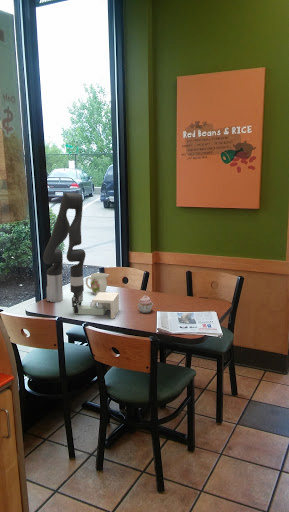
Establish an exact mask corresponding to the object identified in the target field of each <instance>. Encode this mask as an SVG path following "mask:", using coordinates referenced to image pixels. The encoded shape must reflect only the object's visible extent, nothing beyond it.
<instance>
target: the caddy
mask: <svg viewBox="0 0 289 512" xmlns="http://www.w3.org/2000/svg"><path fill="white" fill-rule="evenodd" d="M89 304H90V305H88V304H87V305H83V304H81V305H78V314H77V315H87V316H88V315H90V316H91V315H92V316H104V315H105V314H106V313H107V310H106V306H104V303H92V301H90V302H89ZM72 314H73V315H76V314H75V313H74V307H72Z"/></svg>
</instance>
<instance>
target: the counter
mask: <svg viewBox="0 0 289 512" xmlns="http://www.w3.org/2000/svg"><path fill="white" fill-rule="evenodd" d="M119 299H120V295H119V292H108V291H105V292H99V293H98V294H97V295H95V296H94V297H93V298H92V299H91V302H92V303H97V304H98V303H104V306H106V311H110V320H113V319H115V318H116V315H117V314H118V312H119V311H120V306H119V305H120V302H119V301H120V300H119Z"/></svg>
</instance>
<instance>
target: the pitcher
mask: <svg viewBox="0 0 289 512" xmlns="http://www.w3.org/2000/svg"><path fill="white" fill-rule="evenodd" d="M109 276H110V274H109V273H106V272H105V273H104V272H94V273H91V274H90V276H87V277H85V278H86V279H85V286H86V287H87V288H88V289H89V290H91V292H92V293H93V295H95V296H96V295H97V294H98V293H99V292H107V286H108V284H107V283H108V281H107V277H109ZM89 279H90V285H89V284H88V280H89Z"/></svg>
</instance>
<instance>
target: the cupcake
mask: <svg viewBox="0 0 289 512" xmlns="http://www.w3.org/2000/svg"><path fill="white" fill-rule="evenodd" d="M153 305H154V303H153V302H152V300H151V298H150V297H149V296H148V295H143V296H142V297H141V298H139V301H138V303H137V306H138V309H139V312H140V313H142V314H148V313H151V310H152V308H153Z"/></svg>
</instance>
